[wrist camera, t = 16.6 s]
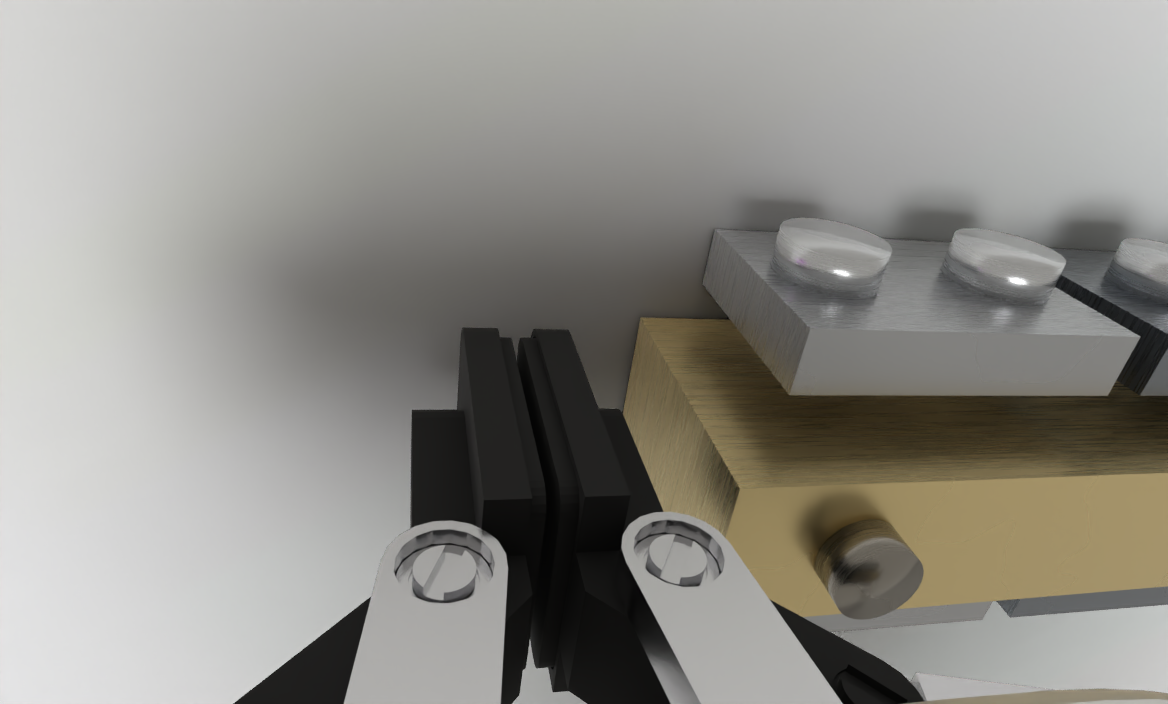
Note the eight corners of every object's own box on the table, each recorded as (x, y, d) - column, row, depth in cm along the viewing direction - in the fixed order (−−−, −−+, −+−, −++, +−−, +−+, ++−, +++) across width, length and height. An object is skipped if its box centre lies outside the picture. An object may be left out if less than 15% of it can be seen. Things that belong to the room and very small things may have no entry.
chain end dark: (1115, 502, 18) (1251, 616, 15) (893, 511, 17) (997, 639, 14) (1281, 232, 15) (1499, 311, 12) (1022, 214, 13) (1195, 299, 10)
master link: (1128, 422, 17) (1377, 598, 12) (619, 431, 14) (715, 663, 10) (1182, 329, 16) (1478, 487, 11) (640, 317, 13) (759, 523, 8)
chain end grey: (870, 512, 17) (969, 642, 14) (648, 521, 15) (704, 665, 12) (993, 212, 13) (1161, 298, 10) (722, 194, 12) (823, 285, 9)
